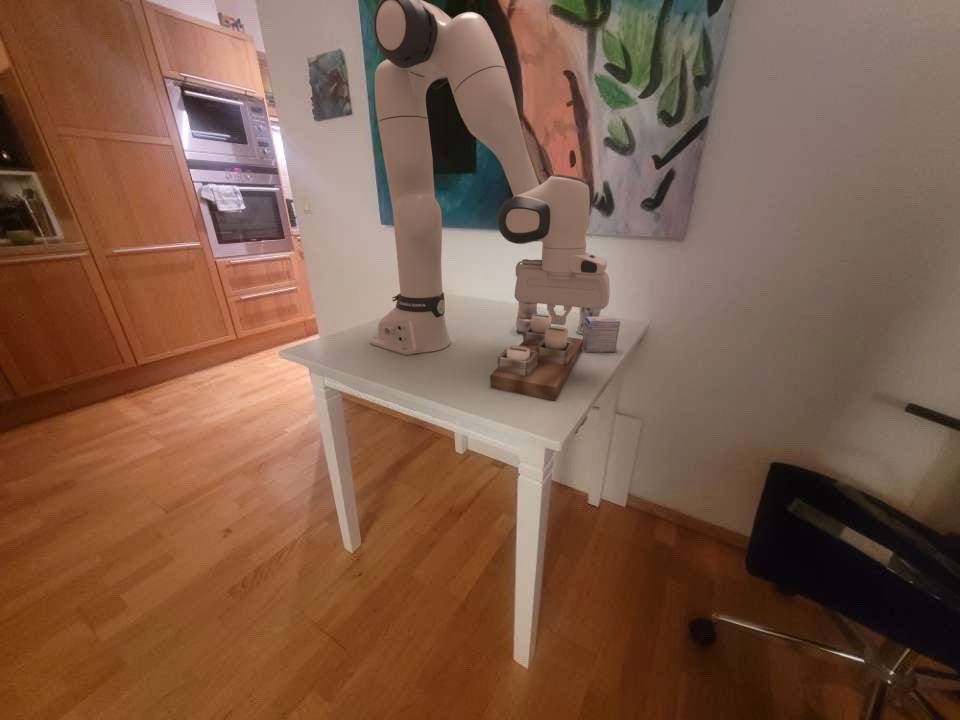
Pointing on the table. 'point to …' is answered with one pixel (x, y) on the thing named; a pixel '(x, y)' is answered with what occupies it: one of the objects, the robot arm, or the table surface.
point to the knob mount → (536, 368)
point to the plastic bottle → (525, 315)
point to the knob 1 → (518, 353)
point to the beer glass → (586, 313)
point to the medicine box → (600, 334)
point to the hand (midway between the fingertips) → (558, 324)
